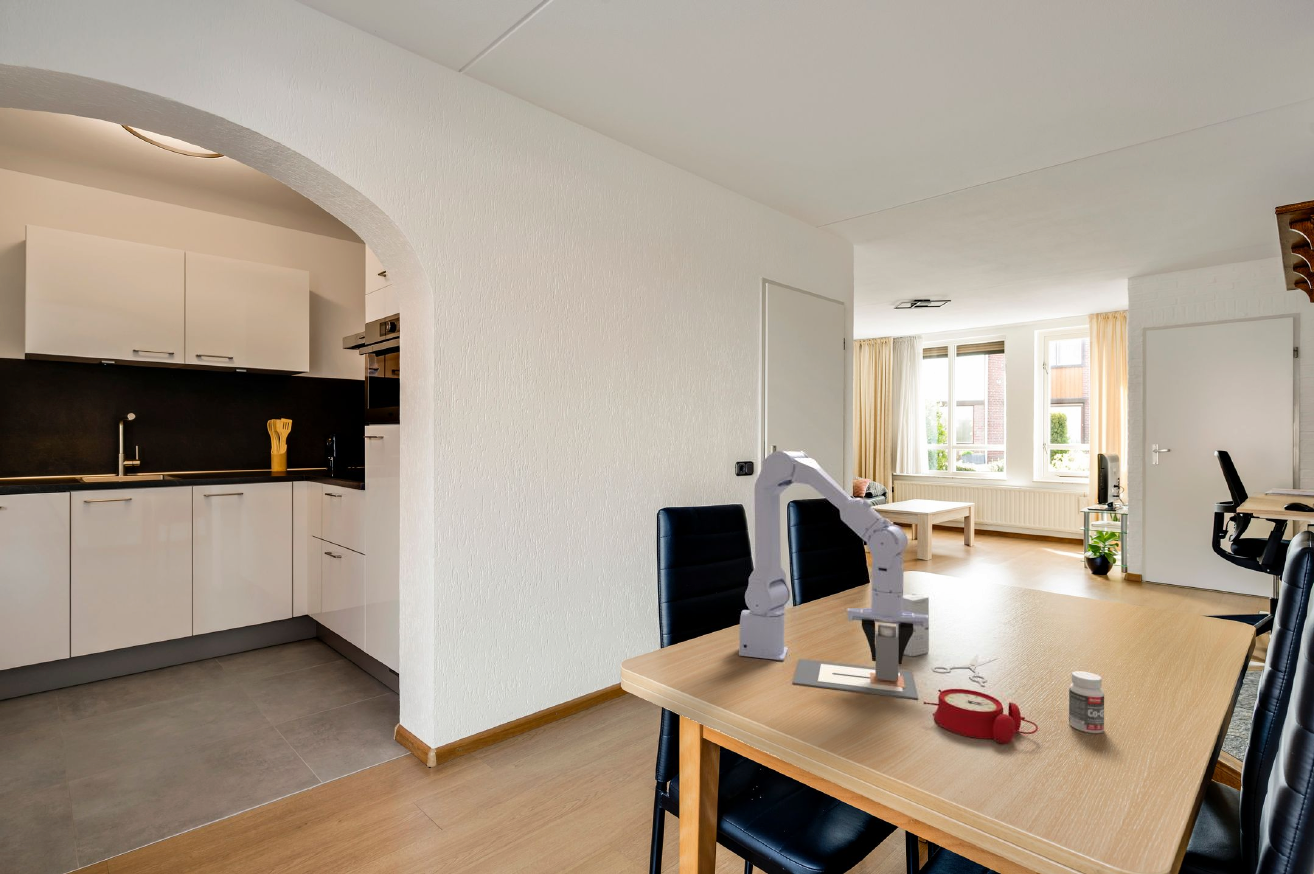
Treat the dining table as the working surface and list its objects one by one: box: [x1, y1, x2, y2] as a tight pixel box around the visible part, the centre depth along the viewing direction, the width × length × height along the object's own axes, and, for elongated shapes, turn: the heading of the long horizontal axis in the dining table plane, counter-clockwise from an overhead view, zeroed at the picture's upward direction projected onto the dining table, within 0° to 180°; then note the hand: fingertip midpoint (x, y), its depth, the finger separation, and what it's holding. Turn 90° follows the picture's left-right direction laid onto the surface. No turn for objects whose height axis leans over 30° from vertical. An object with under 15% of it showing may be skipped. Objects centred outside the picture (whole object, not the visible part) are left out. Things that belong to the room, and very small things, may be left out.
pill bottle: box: [1068, 670, 1105, 734], centre depth 104 cm, size 5×5×8 cm
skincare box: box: [895, 593, 930, 657], centre depth 140 cm, size 6×4×12 cm
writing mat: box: [792, 658, 919, 700], centre depth 124 cm, size 22×14×1 cm, turn 72°
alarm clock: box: [923, 688, 1039, 745], centre depth 103 cm, size 11×6×15 cm
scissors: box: [931, 653, 998, 688], centre depth 131 cm, size 11×1×20 cm
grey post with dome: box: [874, 623, 899, 681], centre depth 122 cm, size 4×4×10 cm
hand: (886, 660), depth 122 cm, fingers closed on grey post with dome, 4 cm apart
